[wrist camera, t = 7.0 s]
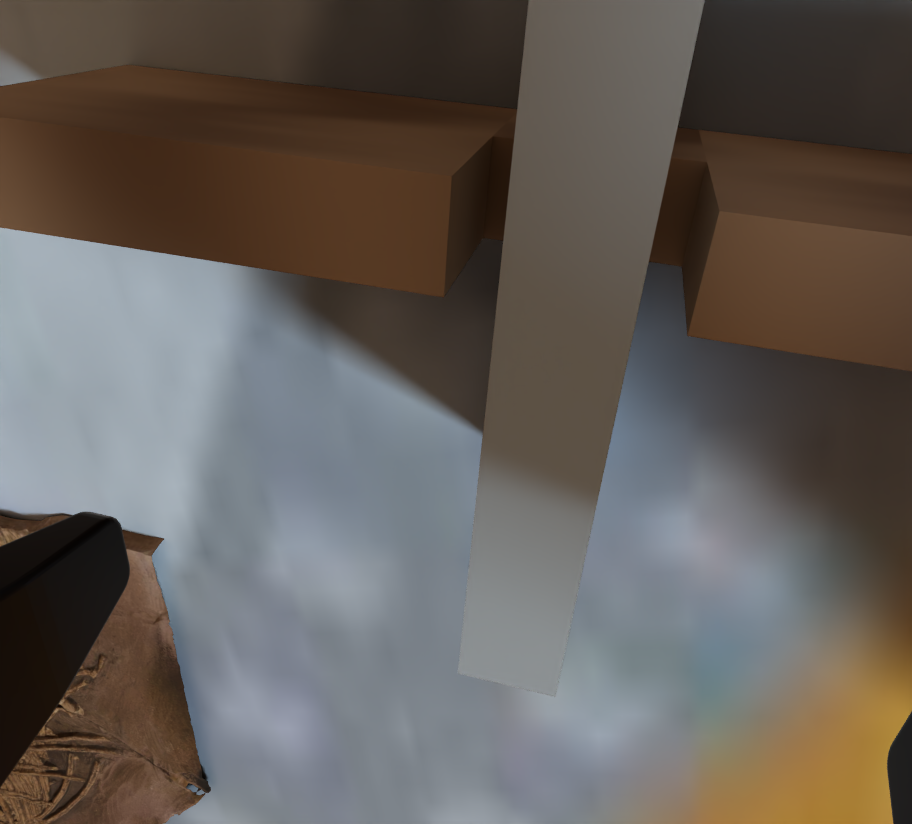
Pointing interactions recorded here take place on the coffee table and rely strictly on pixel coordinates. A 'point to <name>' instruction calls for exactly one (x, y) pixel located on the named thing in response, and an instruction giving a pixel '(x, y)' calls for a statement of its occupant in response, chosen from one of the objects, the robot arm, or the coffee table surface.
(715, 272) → the stepped wooden block
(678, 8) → the tapered grey plank
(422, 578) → the coffee table surface
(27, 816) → the wooden fragment
